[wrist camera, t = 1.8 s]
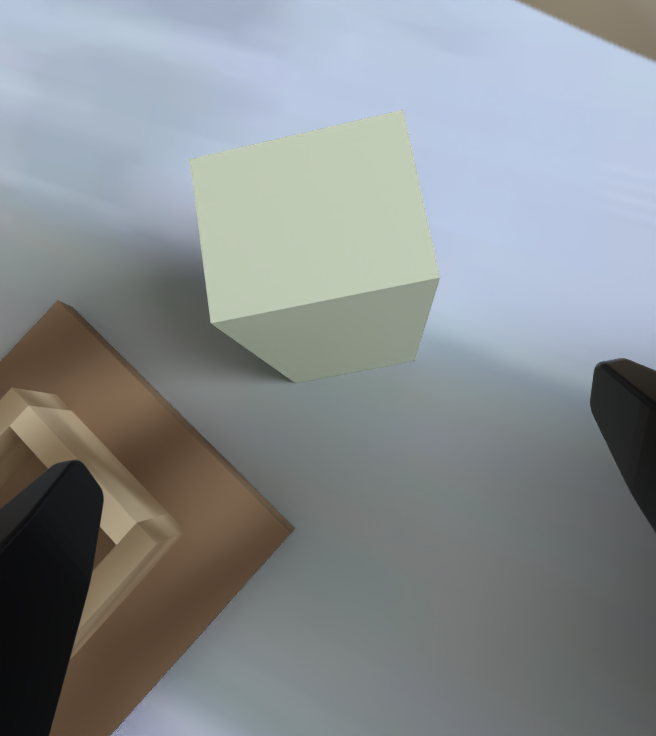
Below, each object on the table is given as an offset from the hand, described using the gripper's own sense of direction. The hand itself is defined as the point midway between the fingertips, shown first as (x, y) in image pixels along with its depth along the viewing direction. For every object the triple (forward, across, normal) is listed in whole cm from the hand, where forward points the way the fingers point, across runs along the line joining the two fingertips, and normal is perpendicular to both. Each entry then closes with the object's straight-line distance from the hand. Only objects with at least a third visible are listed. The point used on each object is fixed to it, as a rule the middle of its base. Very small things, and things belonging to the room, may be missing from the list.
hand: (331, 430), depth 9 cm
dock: (+7, +13, +9) cm, 17 cm away
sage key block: (+12, 0, +5) cm, 12 cm away
